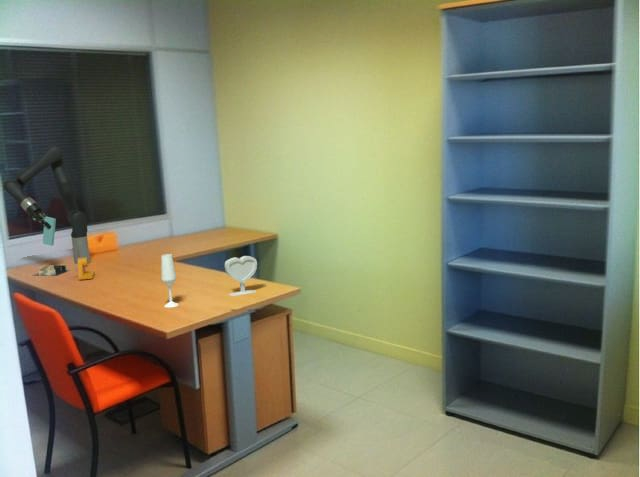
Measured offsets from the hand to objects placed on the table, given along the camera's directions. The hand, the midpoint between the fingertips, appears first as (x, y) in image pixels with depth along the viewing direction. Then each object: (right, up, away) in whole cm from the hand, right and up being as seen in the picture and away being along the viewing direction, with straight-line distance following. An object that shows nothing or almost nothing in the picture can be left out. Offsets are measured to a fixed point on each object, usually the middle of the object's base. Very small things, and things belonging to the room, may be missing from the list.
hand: (51, 227), depth 359 cm
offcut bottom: (-1, -27, -3) cm, 28 cm away
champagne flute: (+87, -38, -72) cm, 119 cm away
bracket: (+25, -29, -11) cm, 40 cm away
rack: (0, -28, +1) cm, 28 cm away
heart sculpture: (+119, -34, -56) cm, 136 cm away
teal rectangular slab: (-3, -10, +3) cm, 11 cm away
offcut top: (-1, -25, -3) cm, 25 cm away
